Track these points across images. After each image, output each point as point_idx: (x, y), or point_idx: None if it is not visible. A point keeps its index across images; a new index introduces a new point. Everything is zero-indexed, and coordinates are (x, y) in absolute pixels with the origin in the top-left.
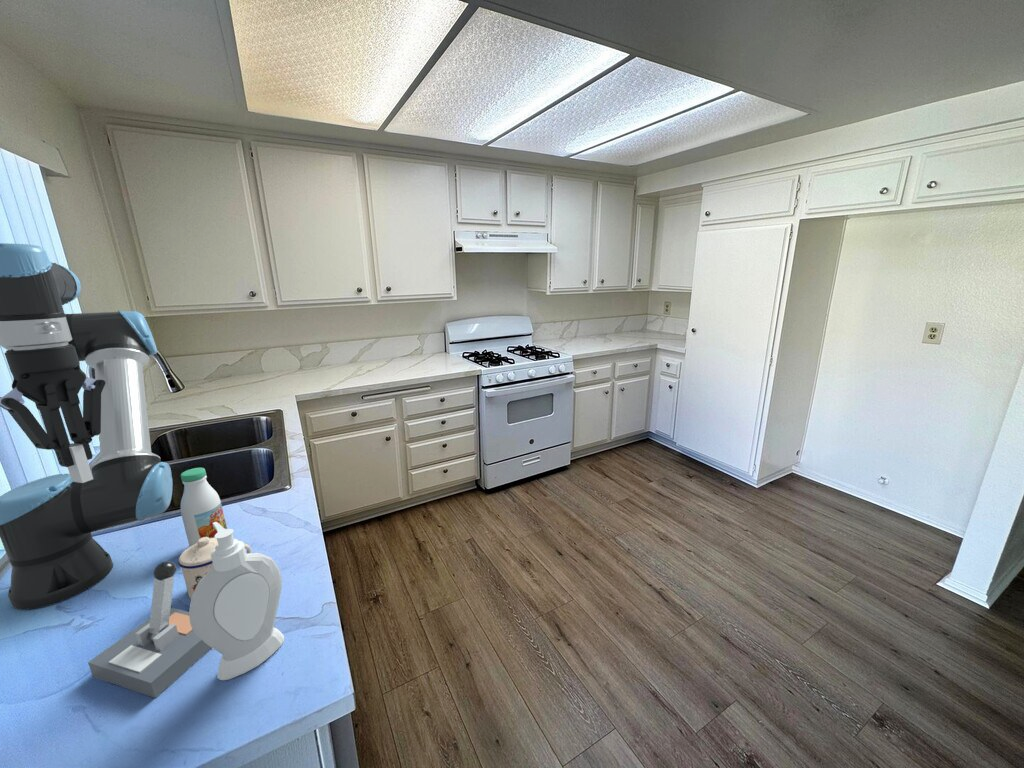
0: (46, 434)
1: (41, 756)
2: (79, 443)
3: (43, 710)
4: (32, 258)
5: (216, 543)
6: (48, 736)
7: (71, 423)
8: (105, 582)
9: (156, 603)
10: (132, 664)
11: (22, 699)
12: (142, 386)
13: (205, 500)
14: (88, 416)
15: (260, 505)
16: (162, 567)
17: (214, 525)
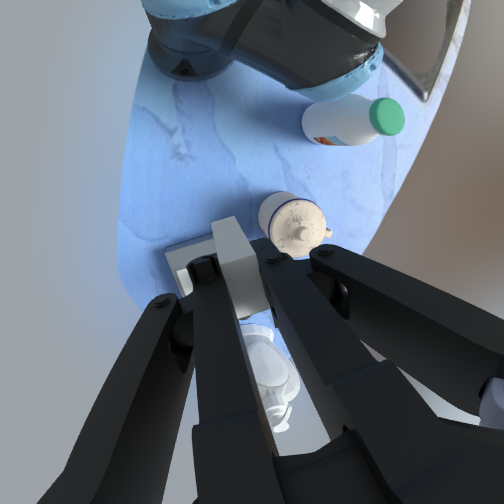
0: (187, 384)
1: (132, 297)
2: (266, 298)
3: (135, 252)
4: None
5: (310, 242)
6: (136, 283)
7: (291, 344)
8: (219, 81)
9: None
10: (188, 292)
11: (125, 222)
12: None
13: (360, 142)
14: (367, 322)
15: (392, 98)
16: (240, 318)
17: (286, 413)
